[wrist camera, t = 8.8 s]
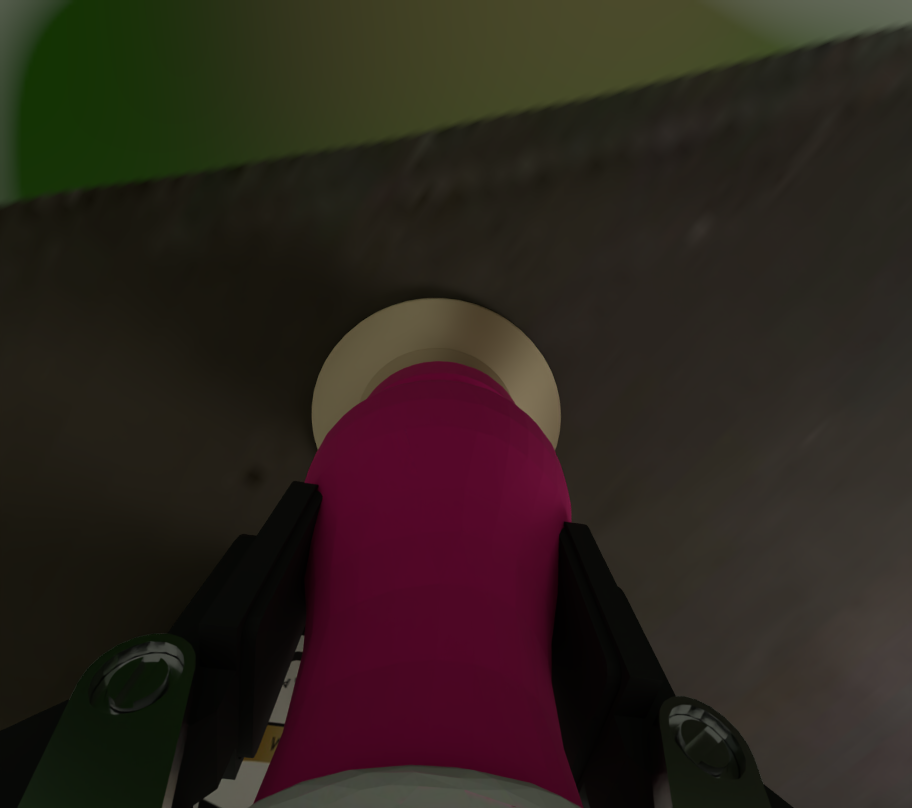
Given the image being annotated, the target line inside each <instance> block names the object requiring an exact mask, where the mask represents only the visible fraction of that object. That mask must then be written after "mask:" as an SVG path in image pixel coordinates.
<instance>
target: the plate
mask: <svg viewBox="0 0 912 808" xmlns="http://www.w3.org/2000/svg"><path fill="white" fill-rule="evenodd" d="M433 361H446V362H455V363H459V364H463V365H466V366H469V367H472V368H475V369H477V370H480V371H482V372H483V373H485V374H487V375H489V376H490V377H491V378H492V379H494V380H495V381H496V382H497V383H499V384H500V385H501V386H502V387H503V388H504V389H505V390H506V391H507V392H508V394H509V395H510V396H511V398H512V399H513V401H514V402H515V404H516V405H517V406H518V407H519V408H520V409H522V410H523V411H524V412H525V413H527V414H528V415H529V416H530V417H531V418H532V419H533V420H534V421H535V422H536V423H537V424H538V426H539V427H540V428H541V430H542V431H543V433H544V434H545V435H546V437H547V438H548V439H549V441H550V442H551V443H552V445H553V448H554V450H555V449H556V446H557V442H558V437H559V433H560V422H561V410H560V399H559V395H558V390H557V386H556V383H555V380H554V377H553V375H552V372H551V370H550V368H549V366H548V364H547V362H546V361H545V359H544V357H543V356H542V354H541V353H540V352H539V350H538V349H537V347H536V346H535V345H534V343H533V342H532V341H531V340H530V339H529V338H528V337H527V336H526V335H525V334H524V333H523V332H522V331H521V330H520V329H519V328H518V327H516V326H515V325H514V324H513V323H511V322H510V321H509V320H507V319H506V318H504V317H502V316H501V315H499V314H497V313H495V312H494V311H492V310H490V309H487V308H485V307H482V306H480V305H477V304H474V303H470V302H466V301H462V300H457V299H449V298H422V299H415V300H408V301H405V302H401V303H398V304H394V305H391V306H389V307H387V308H384V309H382V310H380V311H378V312H376V313H374V314H372V315H371V316H369V317H368V318H366V319H364V320H363V321H361V322H360V323H359V324H358V325H357V326H355V327H354V328H353V329H352V330H351V331H349V332H348V333H347V334H346V335H345V336H344V337H343V338H342V339H341V341H340V342H339V343H338V344H337V345H336V346H335V347H334V349H333V350H332V352H331V353H330V355H329V356H328V358H327V359H326V361H325V363H324V365H323V367H322V369H321V372H320V374H319V376H318V379H317V383H316V386H315V389H314V395H313V401H312V426H313V433H314V438H315V442H316V445H317V449H319V447H320V445H321V444H322V442H323V440H324V438H325V436H326V435H327V433H328V432H329V431H330V430H331V429H332V428H333V426H334V425H335V424H336V423H337V422H338V421H339V420H340V419H341V418H342V416H343V415H345V414H346V413H347V412H348V411H349V410H351V409H352V408H353V407H354V406H356V405H357V404H359V403H360V402H362V401H364V400H365V399H367V398H368V396H369V395H370V394H371V393H372V391H373V390H374V389H375V388H376V387H377V386H378V385H379V384H380V383H381V382H382V381H384V380H385V379H386V378H388V377H389V376H390V375H392V374H393V373H395V372H397V371H399V370H401V369H403V368H406V367H409V366H411V365H415V364H419V363H423V362H433Z"/></svg>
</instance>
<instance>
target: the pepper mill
mask: <svg viewBox="0 0 912 808" xmlns="http://www.w3.org/2000/svg"><path fill="white" fill-rule="evenodd" d="M305 483H311V484H317V485H318V489H317V490H316V491H319V492H321V494H322V496H323V498H322V502H321V505H320V509H319V513H318V516H317V520H316V524H315V528H314V532H313V535H312V540H311V545H310V551H309V556H308V562H307V567H306V573H305V577H304V585H305V600H306V625H305V635H304V645H303V654H302V658H301V662H300V666H299V670H298V674H297V678H296V682H295V685H294V689H293V693H292V697H291V701H290V705H289V709H288V713H287V717H286V721H285V725H284V729H283V733H282V735H281V738H280V740H279V743H278V745H277V747H276V750H275V752H274V755H273V757H272V759H271V762H270V764H269V767H268V769H267V772H266V774H265V776H264V779H263V781H262V784H261V786H260V788H259V791H258V793H257V796H256V798H255V800H254V803H253V805H251V806H250V807H248V808H583V805H582V802H581V799H580V796H579V793H578V790H577V787H576V784H575V781H574V778H573V775H572V772H571V769H570V766H569V763H568V760H567V757H566V754H565V751H564V747H563V742H562V736H561V731H560V725H559V720H558V714H557V709H556V703H555V698H554V692H553V687H552V636H553V629H554V621H555V613H556V604H557V596H558V562H559V534H560V532H561V530H562V528H565V527H564V521H565V522H571V503H570V498H569V494H568V489H567V485H566V481H565V478H564V474H563V471H562V468H561V465H560V462H559V460H558V458H557V455H556V453H555V450H554V448H553V445H552V443H551V442H550V441H549V439H548V438H547V437H546V435H545V434H544V433H543V431H542V430H541V428H540V427H539V426H538V424H537V423H536V422H535V421H534V420H533V419H532V418H531V417H530V416H529V415H528V414H527V413H525V412H524V411H523V410H522V409H520V408H519V407H518V406H517V405H516V404H515V402H514V401H513V399H512V398H511V396H510V395H509V394H508V392H507V391H506V390H505V389H504V388H503V387H502V386H501V385H500V384H499V383H497V382H496V381H495V380H494V379H492V378H491V377H490V376H489V375H487V374H485V373H483V372H482V371H480V370H477V369H475V368H472V367H469V366H466V365H463V364H459V363H455V362H446V361H433V362H423V363H419V364H415V365H411V366H409V367H406V368H403V369H401V370H399V371H397V372H395V373H393V374H392V375H390V376H389V377H388V378H386V379H385V380H384V381H382V382H381V383H380V384H379V385H378V386H377V387H376V388H375V389H374V390H373V391H372V393H371V394H370V395H369V396H368V398H367V399H365V400H364V401H362V402H360V403H359V404H357V405H356V406H354V407H353V408H352V409H351V410H349V411H348V412H347V413H346V414H345V415H343V416H342V418H341V419H340V420H339V421H338V422H337V423H336V424H335V425H334V426H333V428H332V429H331V430H330V431H329V432H328V433H327V435H326V436H325V438H324V440H323V442H322V444H321V445H320V447H319V449H318V451H317V453H316V455H315V457H314V459H313V461H312V463H311V466H310V468H309V470H308V473H307V476H306V480H305Z"/></svg>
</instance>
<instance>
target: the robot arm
mask: <svg viewBox="0 0 912 808" xmlns="http://www.w3.org/2000/svg"><path fill="white" fill-rule="evenodd" d="M317 489H318V485H317V484H311V483H304V482H297V481H293V482H292V483H291V485H290V486H289V488H288V489H287V491H286V492H285V494H284V495H283V497H282V499H281V500H280V502H279V503H278V505H277V506H276V508H275V509H274V511H273V512H272V514H271V515H270V517H269V518H268V520H267V521H266V523H265V524H264V526H263V527H262V529H261V530H260V532H259V533H258V535H257V536H254V535H247V534H242V535H240V536H239V537H238V538H237V539H236V540H235V541H234V543H233V544H232V545H231V547H230V548H229V549H228V551H227V552H226V554H225V555H224V556H223V558H222V559H221V560H220V562H219V563H218V565H217V566H216V567H215V569H214V570H213V571H212V573H211V574H210V576H209V577H208V578H207V580H206V581H205V582H204V584H203V585H202V587H201V588H200V589H199V591H198V592H197V593H196V595H195V596H194V598H193V599H192V600H191V602H190V603H189V604H188V606H187V607H186V609H185V610H184V611H183V613H182V614H181V615H180V617H179V618H178V620H177V621H176V622H175V624H174V625H173V627H172V628H171V629H170V631H169V632H168V633H167V634H149V635H144V636H140V637H136V638H133V639H131V640H128V641H126V642H123V643H121V644H119V645H117V646H115V647H114V648H112V649H111V650H109V651H107V652H106V653H104V654H103V655H101V656H100V657H99V658H98V659H97V660H96V661H95V662H94V663H93V664H92V665H90V666H89V667H88V668H87V670H86V671H85V673H84V674H83V676H82V677H81V678H80V680H79V681H78V683H77V685H76V687H75V689H74V691H73V693H72V695H71V697H70V699H69V700H66V701H64V702H62V703H60V704H58V705H56V706H53V707H51V708H49V709H47V710H45V711H43V712H40V713H38V714H36V715H34V716H32V717H30V718H27V719H25V720H23V721H21V722H19V723H17V724H15V725H12V726H10V727H8V728H6V729H4V730H2V731H0V808H198V803H199V801H201V800H202V799H204V798H205V797H207V796H208V795H209V794H211V793H212V792H214V791H215V790H217V789H218V786H219V784H220V782H221V779H230V780H235V779H236V776H237V774H238V771H239V769H240V766H241V764H242V761H243V759H244V757H245V758H254V757H255V755H256V753H257V751H258V748H259V746H260V743H261V741H262V738H263V735H264V733H265V730H266V727H267V725H268V722H269V720H270V717H271V714H272V712H273V709H274V706H275V704H276V701H277V698H278V696H279V693H280V691H281V688H282V685H283V683H284V680H285V677H286V675H287V672H288V670H289V667H290V664H291V662H292V659H293V656H294V654H295V651H296V648H297V646H298V643H299V641H300V638H301V635H302V633H303V630H304V627H305V625H306V600H305V585H304V577H305V573H306V567H307V562H308V556H309V551H310V545H311V540H312V535H313V532H314V528H315V524H316V520H317V516H318V513H319V509H320V505H321V502H322V498H323V496H322V494H321V492H319V491H316V490H317ZM564 527H565V528H562V530H561V532H560V534H559V562H558V596H557V604H556V613H555V621H554V629H553V636H552V687H553V692H554V698H555V703H556V709H557V714H558V720H559V725H560V731H561V736H562V742H563V747H564V751H565V754H566V757H567V760H568V763H569V766H570V769H571V772H572V775H573V778H574V781H575V784H576V787H577V790H578V793H579V796H580V799H581V802H582V805H583V808H793V807H792V806H791V805H789V804H788V803H787V802H786V801H784V800H783V799H782V798H781V797H779V796H778V795H777V794H775V793H774V792H773V791H772V790H770V789H769V788H768V787H767V786H765V785H764V784H763V782H762V779H761V776H760V773H759V770H758V767H757V764H756V761H755V758H754V756H753V754H752V752H751V750H750V748H749V746H748V744H747V742H746V741H745V740H744V738H743V737H742V736H741V734H740V733H739V731H738V730H737V729H736V728H735V727H734V726H733V725H732V724H731V723H730V722H729V721H728V720H727V719H726V718H725V717H724V716H723V715H721V714H720V713H719V712H717V711H716V710H714V709H713V708H712V707H710V706H708V705H706V704H704V703H702V702H700V701H698V700H696V699H693V698H689V697H685V696H675V694H674V692H673V690H672V688H671V686H670V684H669V682H668V680H667V678H666V676H665V674H664V672H663V670H662V668H661V666H660V664H659V662H658V660H657V658H656V656H655V654H654V652H653V650H652V648H651V646H650V644H649V642H648V640H647V638H646V636H645V634H644V632H643V630H642V628H641V626H640V624H639V622H638V620H637V618H636V616H635V614H634V612H633V610H632V608H631V606H630V604H629V602H628V600H627V598H626V596H625V594H624V592H623V591H622V589H621V588H619V587H618V586H617V585H616V583H615V581H614V578H613V576H612V574H611V572H610V570H609V568H608V566H607V564H606V562H605V560H604V558H603V556H602V554H601V552H600V550H599V548H598V546H597V544H596V542H595V540H594V538H593V536H592V534H591V532H590V529H589V528H588V526H587V525H585V524H578V523H571V522H565V521H564Z"/></svg>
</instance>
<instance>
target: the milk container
mask: <svg viewBox="0 0 912 808" xmlns="http://www.w3.org/2000/svg"><path fill="white" fill-rule="evenodd" d="M304 635H305V627H304V630H303V633H302V635H301V638H300V641H299V643H298V646H297V648H296V651H295V654H294V656H293V659H292V662H291V664H290V667H289V670H288V672H287V675H286V677H285V680H284V683H283V685H282V688H281V691H280V693H279V696H278V698H277V701H276V704H275V706H274V709H273V712H272V714H271V717H270V720H269V722H268V725H267V727H266V730H265V733H264V735H263V738H262V741H261V743H260V746H259V748H258V751H257V753H256V755H255V757H254V758H245V757H244V759H243V761H242V764H241V766H240V769H239V771H238V774H237V776H236V779H235V780H230V779H221V782H220V784H219V786H218V789H217V790H215V791H214V792H212V793H211V794H209V795H208V796H207V797H205V798H204V799H202V800H201V801H199V803H198V808H248V807H250V806H251V805H253V803H254V800H255V798H256V796H257V793H258V791H259V788H260V786H261V784H262V781H263V779H264V776H265V774H266V772H267V769H268V767H269V764H270V762H271V759H272V757H273V755H274V752H275V750H276V747H277V745H278V743H279V740H280V738H281V735H282V733H283V729H284V725H285V721H286V717H287V713H288V709H289V705H290V701H291V697H292V693H293V689H294V685H295V682H296V678H297V674H298V670H299V666H300V662H301V658H302V654H303V645H304Z"/></svg>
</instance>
